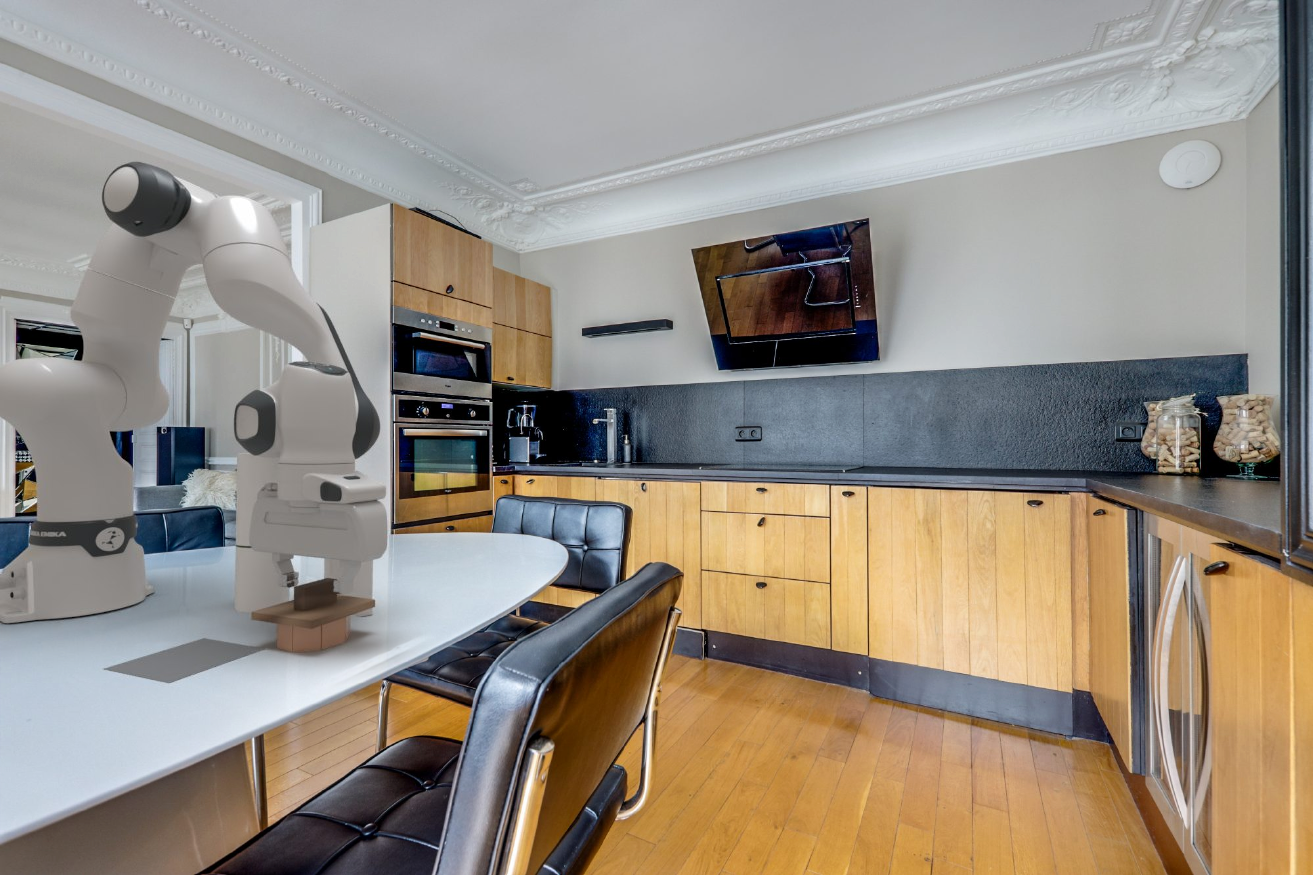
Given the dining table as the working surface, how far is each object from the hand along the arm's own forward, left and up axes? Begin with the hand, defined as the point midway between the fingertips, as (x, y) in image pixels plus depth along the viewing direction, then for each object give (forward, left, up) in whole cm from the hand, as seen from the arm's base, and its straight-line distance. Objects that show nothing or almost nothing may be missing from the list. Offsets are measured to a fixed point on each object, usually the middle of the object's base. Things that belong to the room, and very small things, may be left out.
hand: (315, 589), depth 77 cm
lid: (0, 0, -3) cm, 3 cm away
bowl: (0, 0, -8) cm, 8 cm away
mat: (-8, -10, -8) cm, 15 cm away
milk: (-8, +13, -8) cm, 17 cm away
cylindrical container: (-21, +9, -8) cm, 24 cm away
